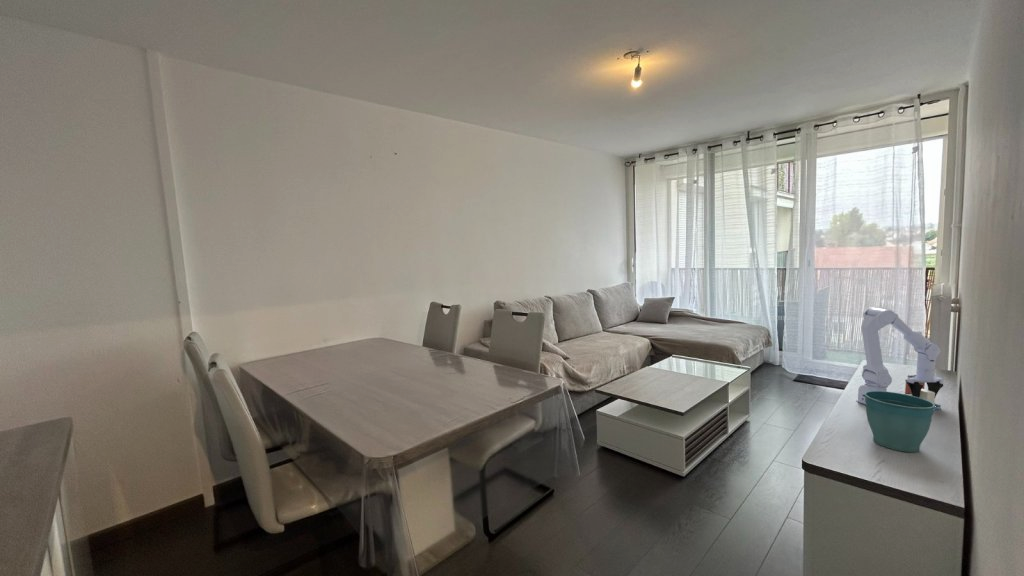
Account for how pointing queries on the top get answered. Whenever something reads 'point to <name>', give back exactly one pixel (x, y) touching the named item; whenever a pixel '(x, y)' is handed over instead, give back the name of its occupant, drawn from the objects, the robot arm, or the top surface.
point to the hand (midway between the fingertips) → (923, 398)
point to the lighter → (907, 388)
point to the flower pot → (898, 419)
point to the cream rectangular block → (927, 395)
